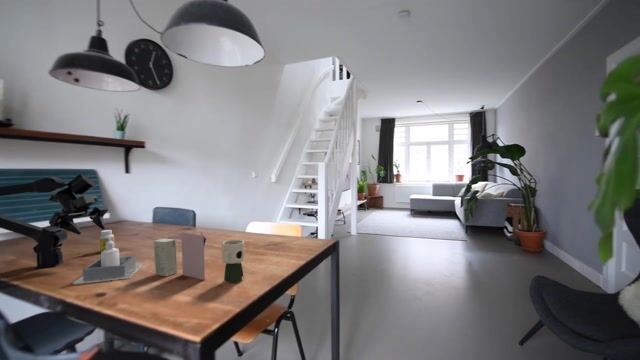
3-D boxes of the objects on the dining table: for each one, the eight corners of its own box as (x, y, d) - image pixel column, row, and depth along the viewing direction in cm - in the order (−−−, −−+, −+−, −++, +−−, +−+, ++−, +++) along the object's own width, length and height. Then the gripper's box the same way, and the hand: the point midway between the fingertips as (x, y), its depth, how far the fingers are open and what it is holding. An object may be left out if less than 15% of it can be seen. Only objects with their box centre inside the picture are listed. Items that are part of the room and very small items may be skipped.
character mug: (236, 287, 89) (236, 246, 89) (215, 286, 90) (214, 246, 90) (250, 275, 100) (249, 238, 99) (231, 274, 101) (230, 237, 100)
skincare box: (177, 273, 103) (176, 239, 102) (166, 277, 99) (165, 242, 98) (165, 270, 105) (164, 237, 105) (154, 274, 102) (153, 240, 101)
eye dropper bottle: (121, 271, 104) (120, 238, 103) (102, 275, 100) (101, 241, 99) (118, 268, 107) (117, 236, 106) (100, 272, 103) (98, 239, 102)
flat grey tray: (72, 284, 93) (72, 272, 93) (94, 268, 108) (94, 258, 108) (129, 278, 98) (129, 266, 98) (142, 264, 113) (142, 253, 113)
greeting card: (207, 279, 96) (206, 235, 96) (182, 283, 93) (181, 238, 92) (204, 269, 106) (203, 229, 106) (182, 272, 103) (181, 231, 103)
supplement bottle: (113, 249, 136) (112, 229, 136) (115, 251, 132) (114, 230, 132) (99, 251, 132) (98, 230, 132) (101, 253, 128) (100, 232, 128)
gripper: (53, 190, 103) (77, 221, 101) (103, 187, 121) (125, 213, 119) (38, 211, 105) (61, 242, 103) (90, 205, 123) (111, 231, 121)
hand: (92, 231), depth 111 cm, fingers open, 9 cm apart
